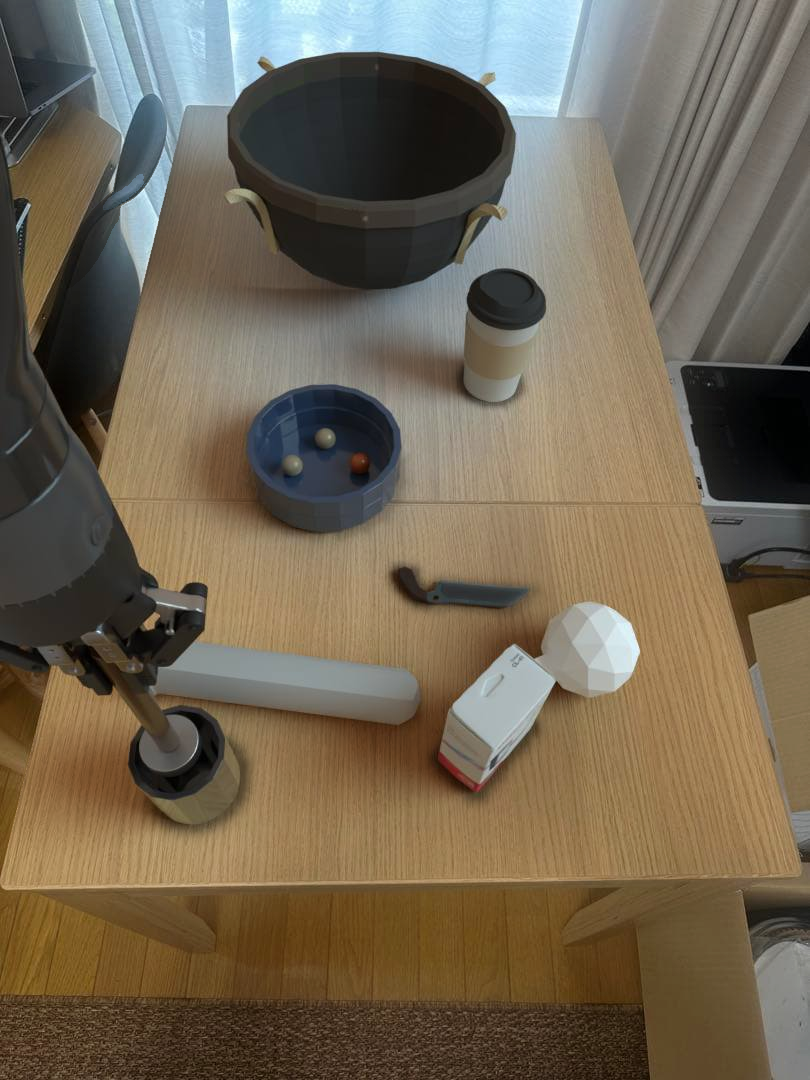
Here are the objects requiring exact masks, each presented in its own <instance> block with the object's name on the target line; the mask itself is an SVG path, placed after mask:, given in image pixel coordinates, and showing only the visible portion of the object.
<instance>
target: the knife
mask: <svg viewBox="0 0 810 1080" xmlns="http://www.w3.org/2000/svg"><path fill="white" fill-rule="evenodd" d="M397 579H398V581H399V582H400V584H401V586H402V588H404V590H405V591H406V592H407V594H408V595H409V596H410V597H412V598H413V599H414V600H416V601H419V602H422V603H428V604H433V605H446V604H450V605H451V604H454V605H465V606H476V607H488V608H500V609H506V608H508V607H510V606H513V605H515V604H516V603H518V602H519V601H520V600H521V599H523V598H524V597H526V596H527V594H528V593H530V591H531V587H524V586H513V585H503V584H491V583H480V582H479V583H477V582H469V581H468V582H466V581H455V580H445V579H444V580H443V579H439V580H438V581H437V582H436V583H435V588H434V589H433V591H432V590H431V591H428V590H425V589H423V588H421V587H420V585H419V583H418V580H417V578H416V575H415V573H414V571H413V570H412V569H411V568H409V567H407V566H403V567H400V568H398V571H397ZM434 598H437V600H435V599H434Z"/></svg>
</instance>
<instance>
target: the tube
mask: <svg viewBox="0 0 810 1080" xmlns="http://www.w3.org/2000/svg"><path fill="white" fill-rule="evenodd" d="M149 690H150V692H151V694H152V695H153V697H155V696H157V695H159V694H160V695H167V696H175V697H184V698H190V699H196V700H197V699H198V700H206V701H214V702H221V703H229V704H235V705H244V706H252V707H260V708H267V709H274V710H282V711H288V712H289V711H290V712H297V713H306V714H314V715H321V716H328V717H335V718H342V719H343V718H344V719H352V720H358V721H366V722H374V723H381V724H389V725H396V726H399V725H401V724H403V723H405V722H407V721H409V720H411V718H413V717H414V716H415V715H416V712H417V710H418V708H419V705H420V702H421V700H422V698H421V693H420V692H421V691H420V688H419V683H418V681H417V678H416V677H415V676H414V675H413V674H412V673H411V672H410V671H408V669H406V668H403V667H394V666H388V665H387V666H386V665H377V664H371V663H363V662H356V661H349V660H342V659H332V658H326V657H319V656H316V657H315V656H310V655H302V654H294V653H287V652H279V651H272V650H265V649H264V650H263V649H256V648H248V647H241V646H233V645H225V644H217V643H210V642H203V641H196V640H195V641H194V642H193V643H192V644H191V645H190V646H189V647H188V648H187V649H186V651H185V652H184V653H183V654H182V655H181V656H180V657H179V658H178V659H177V660H176V661H175V662H174V663H173V664H172V665H171V666H168V667H158V675H157V683H156V685H155V686H149Z"/></svg>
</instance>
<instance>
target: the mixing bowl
mask: <svg viewBox="0 0 810 1080" xmlns="http://www.w3.org/2000/svg"><path fill="white" fill-rule="evenodd" d="M322 428H328V429H330V430H332V431H333V432H334V434H335V436H336V441H335V444H334V445H333V446H332V447H331V448H329V449H322V448H320V447H319V446H318V445H317V444H316V442H315V435H316V433H317V432H318V431H319V430H320V429H322ZM402 446H403V445H402V437H401V428H400V427H399V425H398V422H397V421H396V418H395V417H394V415H393V413H392V412H391V411H390V410H389V409H388V408H387V407H386V406H385V405H383V403H382V402H381V401H380V400H378V399H377V398H376V397H374V396H372V395H370V394H367V393H366V392H364V391H362V390H360V389H357V388H354V387H349V386H345V385H339V384H334V383H333V384H331V383H330V384H328V383H327V384H325V383H324V384H309V385H306V386H301V387H297V388H293V389H290V390H287V391H285V392H284V393H282V394H280V395H279V396H276V397H274V398H273V399H271V400H270V401H269V402H268V403H267V404H265V405H264V406H263V407H262V409H260V410H259V411H258V413H256V415H255V416H254V418H253V419H252V422H251V424H250V426H249V428H248V430H247V432H246V446H245V447H246V448H245V453H246V457H247V463H248V467H249V471H250V477H251V482H252V485H253V488H254V491H255V493H256V496H257V498H258V501H259V502H260V503H261V504H262V506H264V507H265V508H266V510H267V511H268V512H269V513H270V514H271V515H272V516H273V517H275V518H277V519H278V520H280V521H282V522H284V523H286V524H288V525H289V526H292V527H294V528H298V529H302V530H306V531H311V532H319V533H321V532H340V531H344V530H347V529H350V528H355V527H357V526H360V525H363V524H365V523H366V522H368V521H369V520H371V519H373V518H374V517H375V516H377V515H379V514H380V513H382V511H383V510H384V509H385V508H386V506H387V505H388V504H389V503H390V501H391V500H392V499H393V498H394V496H395V494H396V491H397V487H398V484H399V481H400V475H401V474H400V473H401V463H402V449H403V447H402ZM356 453H363V454H365V455H367V456H368V458H369V460H370V467H369V469H368V471H367V472H365V473H363V474H356V473H354V472H353V471H352V470H351V469H350V466H349V460H350V458H351V457H352V456H353V455H354V454H356ZM288 455H296V456H298V457H299V458H300V459H301V460H302V463H303V468H302V471H301V472H300V473H299V474H298V475H296V476H289V475H287V474H285V473H284V472H283V470H282V467H281V463H282V460H283V459H284V458H285V457H286V456H288Z"/></svg>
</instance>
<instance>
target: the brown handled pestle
mask: <svg viewBox="0 0 810 1080" xmlns="http://www.w3.org/2000/svg"><path fill="white" fill-rule="evenodd" d="M89 653H90V655H91V656H92V657H93V659H94V660H95V662H96V663H97V664H98V666H99V667H100V668H101V670H102V671H103V672H104V674H105V675H106V677H107V678H108V679H109V681H110V682H111V683H112V685H113V689H115V690H116V692H117V693H118V694H119V696H120V697H121V699H122V700H123V701H124V703H125V704H126V706H127V707H128V708H129V709H130V711H131V712H132V714H133V715H134V716H135V717H136V719H137V720H138V723H140V725H142V726H143V727H144V728H145V731H144V732H143V734H142V736H141V739H140V744H139V752H140V756H141V758H142V760H143V762H144V763H145V764H146V765H147V766H148V768H149V769H150V770H151V771H152V772H154V773H155V774H157V775H159V776H163V777H174V776H178V775H181V774H183V773H185V772H186V771H188V770H189V769H190V768H192V767H193V765H194V764H195V763H196V762H197V760H198V758H199V756H200V754H201V749H202V740H201V736H200V734H199V732H198V730H197V728H196V727H195V725H194V724H193V723H192V721H190V720H189V719H188V718H186V717H184V716H180V715H166V716H165V714H164V713H163V711H162V710H163V709H162V708H161V706H160V705H159V703H158V702H157V700H156V698H155V696H153V695H152V694H151V692H150V690H149V691H148V693H145V694H135V693H134V692H133V690H132V689H131V687H130V686H129V684H128V683H127V681H126V680H125V678H124V677H123V676H122V674H121V670H120V668H119V667H118V666H117V665H116V664H115V662H112V663H106V662H105V661H104V659H103V658H102V657H101V656H100V655H99V653H98V652H97V651H96V650H95V649H94V647H93V646H92V645H90V646H89Z"/></svg>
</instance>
